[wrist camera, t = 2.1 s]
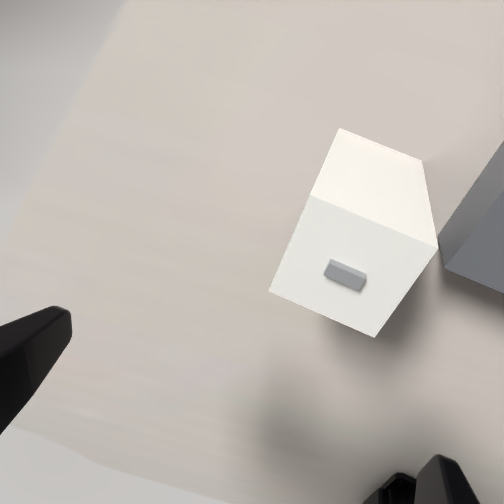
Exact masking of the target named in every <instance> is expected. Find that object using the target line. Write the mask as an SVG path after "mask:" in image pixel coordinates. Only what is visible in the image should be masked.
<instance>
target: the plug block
mask: <svg viewBox="0 0 504 504" xmlns="http://www.w3.org/2000/svg"><path fill="white" fill-rule="evenodd" d="M437 250H438V244H437V238H436V233H435V228H434V223H433V217H432V212H431V207H430V201H429V196H428V191H427V186H426V180H425V175H424V170H423V165H422V161H421V160H418V159H416V158H413V157H411V156H408V155H406V154H403V153H401V152H398V151H396V150H393V149H391V148H388V147H386V146H383V145H381V144H378V143H376V142H373V141H371V140H368V139H366V138H363V137H361V136H358V135H356V134H353V133H351V132H348V131H346V130H343V129H341V128H339V130H338V132H337V134H336V137H335V139H334V141H333V143H332V146H331V148H330V150H329V153H328V155H327V157H326V159H325V162H324V164H323V166H322V169H321V171H320V173H319V175H318V178H317V180H316V182H315V185H314V187H313V189H312V191H311V194H310V196H309V198H308V201H307V203H306V205H305V208H304V210H303V212H302V214H301V217H300V219H299V221H298V224H297V226H296V228H295V231H294V233H293V235H292V238H291V240H290V242H289V244H288V247H287V249H286V251H285V254H284V256H283V258H282V261H281V263H280V265H279V268H278V270H277V272H276V274H275V277H274V279H273V281H272V284H271V286H270V288H269V292H271V293H274V294H276V295H278V296H281V297H283V298H285V299H287V300H290V301H292V302H294V303H296V304H299V305H301V306H303V307H305V308H308V309H310V310H312V311H315V312H317V313H319V314H321V315H324V316H326V317H328V318H330V319H333V320H335V321H337V322H339V323H342V324H344V325H346V326H349V327H351V328H353V329H355V330H358V331H360V332H362V333H364V334H367V335H369V336H371V337H373V338H375V337H376V335H377V334H378V332H379V331H380V330H381V328H382V327H383V325H384V324H385V323H386V321H387V320H388V318H389V317H390V316H391V314H392V313H393V311H394V310H395V309H396V307H397V306H398V304H399V303H400V301H401V300H402V299H403V297H404V296H405V294H406V293H407V292H408V290H409V289H410V287H411V286H412V285H413V283H414V282H415V280H416V279H417V278H418V276H419V275H420V273H421V272H422V271H423V269H424V268H425V266H426V265H427V264H428V262H429V261H430V259H431V258H432V257H433V255H434V254H435V252H436V251H437Z"/></svg>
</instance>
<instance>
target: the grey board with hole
mask: <svg viewBox="0 0 504 504" xmlns="http://www.w3.org/2000/svg"><path fill="white" fill-rule="evenodd" d="M438 239H439V244H440V249H441V254H442V259H443V264H444V269H446V270H449V271H451V272H454V273H456V274H458V275H461V276H463V277H465V278H468V279H470V280H473V281H475V282H477V283H480V284H482V285H485V286H487V287H489V288H492V289H494V290H496V291H499V292H501V293H504V142H503V143H502V144H501V146H500V147H499V149H498V150H497V152H496V153H495V154H494V156H493V157H492V159H491V160H490V162H489V163H488V165H487V166H486V167H485V169H484V170H483V172H482V173H481V175H480V176H479V177H478V179H477V180H476V182H475V183H474V185H473V186H472V188H471V189H470V190H469V192H468V193H467V195H466V196H465V198H464V199H463V200H462V202H461V203H460V205H459V206H458V208H457V209H456V211H455V212H454V213H453V215H452V216H451V218H450V219H449V221H448V222H447V223H446V225H445V226H444V228H443V229H442V231H441V232H440V234H439V235H438Z"/></svg>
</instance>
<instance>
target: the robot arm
mask: <svg viewBox="0 0 504 504" xmlns="http://www.w3.org/2000/svg"><path fill="white" fill-rule="evenodd" d="M71 337H72V323H71V313H70V312H69V311H68V310H66V309H64V308H61V307H59V306H50V307H48V308H45V309H43V310H40V311H37V312H35V313H32V314H30V315H27V316H25V317H22V318H20V319H17V320H15V321H12V322H10V323H7V324H5V325H2V326H0V435H1V433H2V432H3V431H4V430H5V429H6V427H7V426H8V425H9V424H10V423H11V421H12V420H13V419H14V418H15V417H16V415H17V414H18V413H19V412H20V411H21V409H22V408H23V407H24V406H25V405H26V403H27V402H28V401H29V400H30V398H31V397H32V396H33V395H34V393H35V392H36V390H37V389H38V388H39V386H40V385H41V383H42V382H43V380H44V379H45V377H46V376H47V374H48V373H49V371H50V370H51V368H52V367H53V366H54V364H55V363H56V361H57V360H58V358H59V357H60V355H61V354H62V352H63V351H64V349H65V348H66V346H67V345H68V343H69V342H70V340H71ZM363 504H480V503H479V501H478V499H477V497H476V495H475V494H474V492H473V490H472V488H471V486H470V484H469V483H468V481H467V479H466V477H465V475H464V473H463V472H462V470H461V468H460V466H459V465H458V463H457V462H456V461H454V460H453V459H450V458H448V457H445V456H443V455H440V454H437V455H434V456H433V457H432V458H431V459H430V461H429V462H428V463H427V464H426V465H425V466H424V467H423V468H422V469H421V471H420V472H419V474H418V477H417V480H416V479H414V478H412V477H410V476H408V475H406V474H403V473H396V474H394V475H393V476H392V477H391V478H390V479H389V480H388V481H387V482H386V483H385V484H384V485H382V486H381V487H380V488H379V489H378V490H376V491H375V492H374V493H373V494H372V495H371V496H370V497H369V498H368V499H367V500H366V501H365V502H364V503H363Z"/></svg>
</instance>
